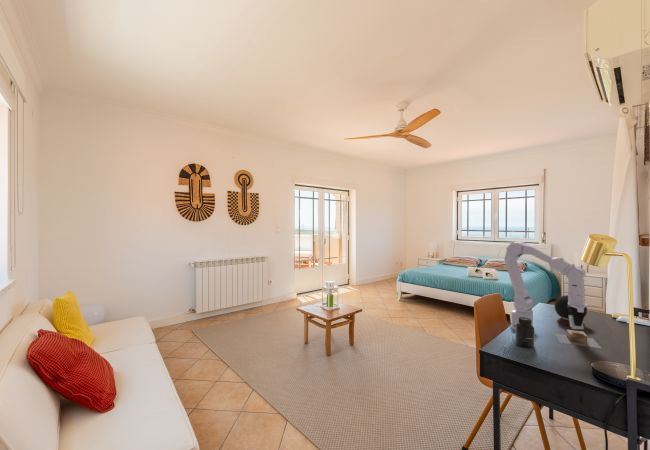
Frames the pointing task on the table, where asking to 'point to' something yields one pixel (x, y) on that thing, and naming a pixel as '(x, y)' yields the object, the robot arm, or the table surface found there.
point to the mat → (590, 343)
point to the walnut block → (577, 336)
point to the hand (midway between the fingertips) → (576, 324)
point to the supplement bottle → (525, 333)
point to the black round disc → (564, 310)
